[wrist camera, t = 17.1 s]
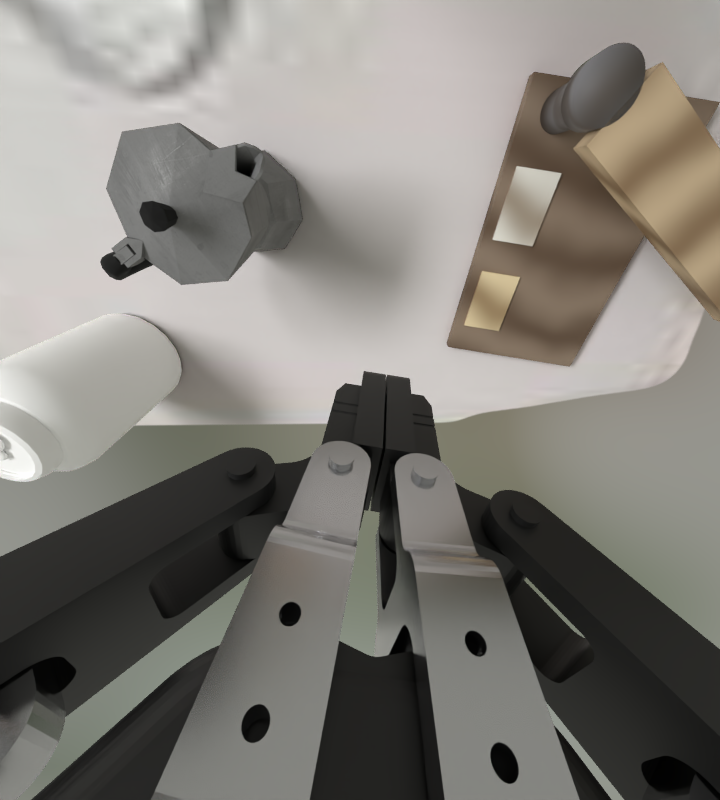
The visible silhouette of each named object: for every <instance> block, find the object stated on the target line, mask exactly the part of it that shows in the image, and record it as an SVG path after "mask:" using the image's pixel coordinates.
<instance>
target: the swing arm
mask: <svg viewBox="0 0 720 800" xmlns="http://www.w3.org/2000/svg"><path fill="white" fill-rule="evenodd" d="M561 113H562V118H563V121H564V123H565V125H566V126H567V127H568V128H569V129H570V130H572V131H574V132H577V133H586V132H588V133H587V134H586V135H585V136H584V137H583V138H582V139H581V140H580V141H579V143H578V144H577V145H576V146H575V147H574V148H573V149H574V150H575V152H576V153H577V154H578V155H579V157H580V158H581V159H582V160H583V161H584V163H585V164H586V165H587V166H588V167H589V169H590V170H591V171H592V172H593V174H594V175H595V176H596V177H597V178H598V180H599V181H600V182H601V183H602V184H603V186H604V187H605V188H606V189H607V190H608V192H609V193H610V194H611V195H612V197H613V198H614V199H615V200H616V201H617V203H618V204H619V205H620V206H621V207H622V209H623V210H624V211H625V212H626V214H627V215H628V216H629V217H630V218H631V220H632V221H633V222H634V223H635V224H636V226H637V227H638V228H639V229H640V230H641V232H642V233H643V234H644V235H645V237H646V238H647V239H648V240H649V241H650V243H651V244H652V245H653V246H654V247H655V249H656V250H657V251H658V252H659V254H660V255H661V256H662V257H663V258H664V260H665V261H666V262H667V263H668V264H669V266H670V267H671V268H672V269H673V271H674V272H675V273H676V274H677V275H678V277H679V278H680V279H681V280H682V281H683V283H684V284H685V285H686V286H687V287H688V289H689V290H690V291H691V292H692V294H693V295H694V296H695V297H696V298H697V300H698V301H699V302H700V303H701V304H702V306H703V307H704V308H705V309H706V310H707V312H708V313H709V314H710V315H711V317H712V318H713V319H714V320H717V321H719V322H720V148H719V147H718V145H717V144H716V142H715V141H714V139H713V138H712V136H711V135H710V133H709V132H708V130H707V129H706V127H705V126H704V124H703V123H702V121H701V120H700V118H699V117H698V115H697V114H696V112H695V111H694V109H693V107H692V106H691V104H690V103H689V101H688V100H687V98H686V97H685V95H684V94H683V92H682V91H681V89H680V88H679V86H678V85H677V83H676V82H675V80H674V79H673V77H672V76H671V74H670V73H669V71H668V70H667V68H666V66H665V65H664V63H663V62H662V63H660V64H658V65H656V66H654V67H652V68H649V69H647V70H645V61H644V57H643V55H642V53H641V51H640V50H639V49H638V48H637V47H636V46H634V45H632V44H629V43H618V44H614V45H612V46H610V47H608V48H606V49H604V50H603V51H601V52H600V53H598V54H597V55H595V56H594V57H592V58H591V59H589V60H588V61H586V62H585V63H584V64H582V65H581V66H580V67H579V68H578V69H577V70H576V72H575V73H574V74H573V76H572V77H571V79H570V80H569V82H568V84H567V86H566V88H565V91H564V94H563V97H562V103H561Z"/></svg>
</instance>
